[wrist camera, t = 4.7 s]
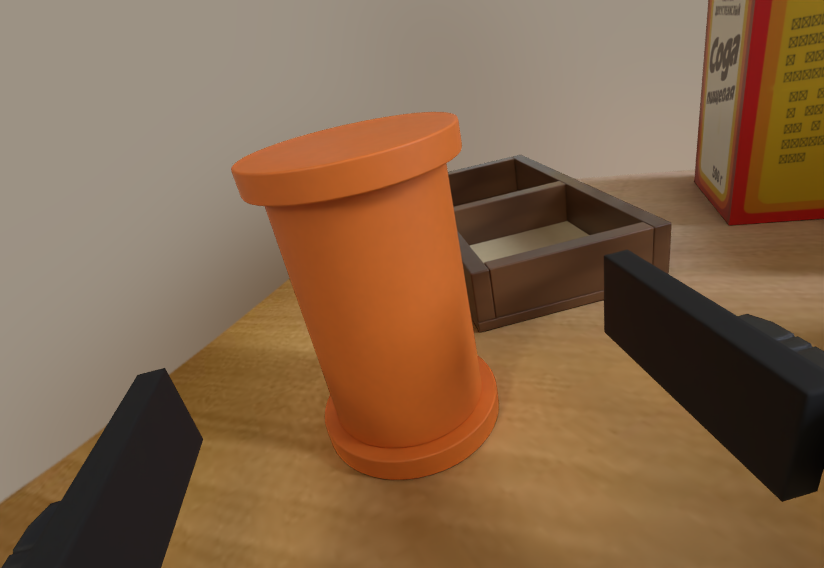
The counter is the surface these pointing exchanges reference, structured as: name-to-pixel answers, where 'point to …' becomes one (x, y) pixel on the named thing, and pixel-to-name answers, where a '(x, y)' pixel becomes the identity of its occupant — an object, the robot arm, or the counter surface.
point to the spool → (381, 287)
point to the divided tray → (542, 239)
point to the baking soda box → (763, 111)
